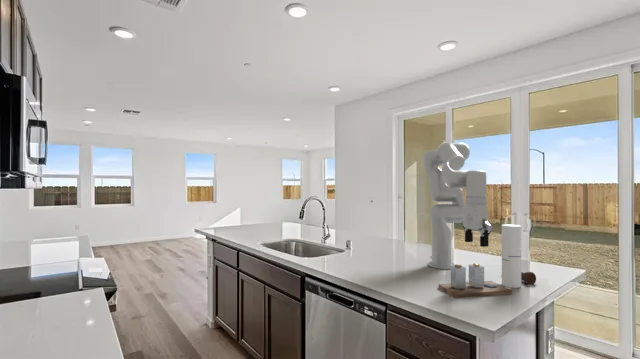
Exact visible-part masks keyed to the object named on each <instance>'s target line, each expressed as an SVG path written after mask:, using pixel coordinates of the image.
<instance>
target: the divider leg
mask: <svg viewBox="0 0 640 359" xmlns="http://www.w3.org/2000/svg"><path fill="white" fill-rule="evenodd" d="M484 281H485V266H483V265H480V264H479V263H478V262H477V263H476V262H475V263H473V264H468V282H469V285H471V286H473V287H475V288H477V287H484Z"/></svg>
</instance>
